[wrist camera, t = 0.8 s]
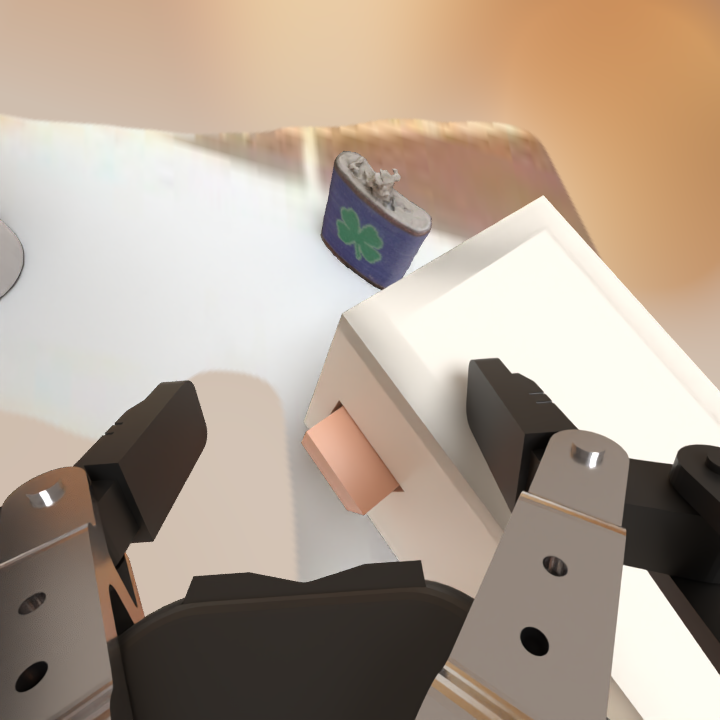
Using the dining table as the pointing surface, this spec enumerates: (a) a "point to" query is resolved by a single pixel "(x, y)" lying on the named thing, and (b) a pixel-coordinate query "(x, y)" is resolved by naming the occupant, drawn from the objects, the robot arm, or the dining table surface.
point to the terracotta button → (349, 462)
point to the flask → (371, 221)
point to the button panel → (558, 381)
